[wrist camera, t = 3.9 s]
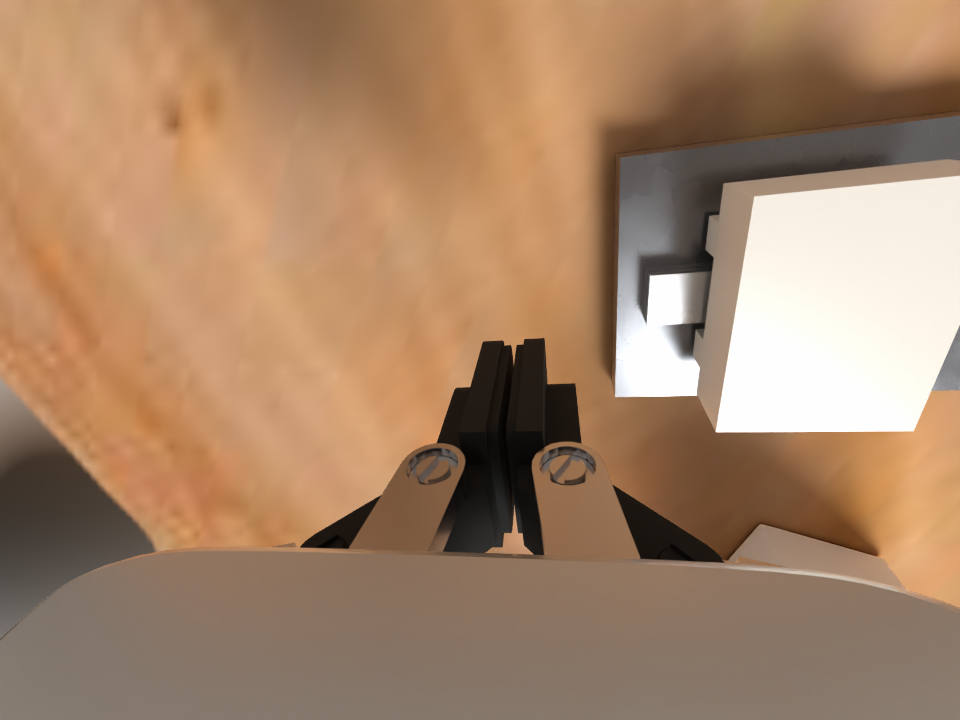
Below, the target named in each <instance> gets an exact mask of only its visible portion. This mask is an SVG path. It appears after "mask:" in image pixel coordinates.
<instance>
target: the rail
mask: <svg viewBox="0 0 960 720" xmlns="http://www.w3.org/2000/svg"><path fill="white" fill-rule="evenodd" d="M945 159H950V160H959V161H960V111H954V112H946V113H938V114H930V115H922V116H914V117H906V118H898V119H890V120H882V121H874V122H866V123H858V124H850V125H842V126H834V127H826V128H818V129H810V130H802V131H794V132H786V133H778V134H770V135H762V136H754V137H746V138H739V139H731V140H723V141H715V142H707V143H699V144H691V145H683V146H675V147H667V148H659V149H651V150H643V151H635V152H627V153H619V154H616V160H615V214H614V269H613V324H612V379H611V380H612V385H613V390H614V395H615V397H654V396H697V394H696V392H697V384H698V376H699V369H700V368H699V366H698V364H697V362H696V360H695V359H694V357H693V349H694V341H695V332H696V329H705V322H706V315H707V307H708V299H709V291H710V284H711V276H712V268H713V260H714V257H713V256H712V255H711V254H710V253H708V252H707V251H706V250H705V248H706V240H707V231H708V223H709V216H712V215H719V214H720V206H721V199H722V191H723V183H731V182H741V181H750V180H759V179H768V178H778V177H787V176H796V175H806V174H815V173H824V172H833V171H843V170H852V169H861V168H871V167H880V166H889V165H899V164H908V163H917V162H926V161H936V160H945ZM941 390H960V326H959V328H958V330H957V333H956V335H955V337H954V339H953V342H952V344H951V346H950V349H949V351H948V353H947V356H946V358H945V360H944V362H943V365H942V367H941V369H940V372H939V374H938V376H937V379H936V381H935V383H934V385H933V388H932V390H931V391H941Z"/></svg>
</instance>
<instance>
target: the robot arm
mask: <svg viewBox="0 0 960 720" xmlns="http://www.w3.org/2000/svg"><path fill="white" fill-rule="evenodd" d="M514 504H515V512H516V520H517V528H518V533H523V539H524V546H525V547H527V548H528V549H529V550H530V551H531V552H532V553H533V554H534V555H525V554H495V553H485V552H487V551H488V550H489V549H491V548H492V547H503V537H504V533H512V526H513V514H514ZM0 720H960V608H959V607H957V606H954V605H952V604H949V603H946V602H944V601H941V600H938V599H935V598H931V597H928V596H925V595H922V594H919V593H916V592H912V591H909V590H906V589H903V588H900V587H896V586H893V585H889V584H884V583H880V582H876V581H871V580H867V579H863V578H858V577H854V576H849V575H844V574H837V573H830V572H824V571H817V570H810V569H802V568H790V567H785V566H780V565H776V564H771V563H766V562H762V561H757V560H752V559H748V558H743V557H738V560H737V563H736V562H731V561H727V560H722V558H721V557H720V556H719V555H718V554H717V553H716V552H715V551H714V550H712V549H711V548H710V547H709V546H707V545H706V544H705V543H703V542H701V541H700V540H698V539H697V538H695V537H694V536H692V535H690V534H689V533H687V532H686V531H684V530H683V529H681V528H679V527H678V526H676V525H675V524H673V523H672V522H670V521H669V520H667V519H665V518H664V517H662V516H661V515H659V514H658V513H656V512H654V511H653V510H651V509H650V508H648V507H647V506H645V505H643V504H642V503H640V502H639V501H637V500H636V499H634V498H633V497H631V496H629V495H628V494H626V493H625V492H623V491H622V490H620V489H618V488H617V487H615V486H614V485H612V483H611V480H610V477H609V475H608V472H607V470H606V467H605V464H604V462H603V460H602V458H601V457H600V455H599V454H598V453H597V452H596V451H595V450H593V449H592V448H590V447H588V446H586V445H584V444H581V435H580V425H579V415H578V406H577V396H576V386H575V384H547V369H546V353H545V340H544V338H540V339H524V345H517V347H516V354H515V362H514V365H513V355H512V347H511V345H506V346H504V342H503V341H486V342H483V344H482V347H481V351H480V354H479V358H478V362H477V365H476V369H475V372H474V376H473V380H472V383H471V387H465V388H456V389H455V390H454V393H453V396H452V399H451V402H450V405H449V408H448V411H447V414H446V417H445V420H444V423H443V426H442V429H441V432H440V435H439V438H438V441H437V443H435V444H430V445H425V446H423V447H420V448H418V449H416V450H414V451H413V452H412V453H410V454H409V455H407V457H406V458H405V459H404V460H403V461H402V463H401V464H400V466H399V468H398V469H397V471H396V472H395V474H394V476H393V477H392V479H391V481H390V482H389V484H388V485H387V487H386V489H385V490H384V492H383V494H382V495H380V496H379V497H377V498H375V499H374V500H372V501H370V502H369V503H367V504H365V505H364V506H362V507H360V508H359V509H357V510H355V511H353V512H352V513H350V514H348V515H347V516H345V517H343V518H342V519H340V520H338V521H337V522H335V523H333V524H331V525H330V526H328V527H326V528H325V529H323V530H321V531H320V532H318V533H316V534H315V535H313V536H312V537H311V538H309V539H308V540H307V541H305V542H304V543H303V544H302V545H301V547H300V548H297V546H296V544H295V543H290V544H285V545H279V546H274V547H197V548H185V549H175V550H166V551H160V552H155V553H150V554H145V555H140V556H136V557H132V558H129V559H126V560H123V561H119V562H116V563H113V564H109V565H106V566H103V567H101V568H98V569H96V570H93V571H91V572H89V573H86V574H84V575H82V576H80V577H78V578H76V579H74V580H72V581H70V582H68V583H67V584H65V585H64V586H62V587H61V588H59V589H58V590H57V591H55V592H54V593H53V594H51V595H50V596H48V597H47V598H46V599H45V600H43V601H42V602H41V603H40V604H39V605H38V606H36V607H35V608H34V609H33V610H32V611H30V612H29V613H28V614H27V615H26V616H25V617H23V618H22V619H21V620H20V621H19V622H17V623H16V624H15V625H14V626H13V627H12V628H11V629H10V630H9V631H8V632H7V633H5V634H4V635H3V636H2V637H1V638H0Z"/></svg>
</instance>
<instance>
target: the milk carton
mask: <svg viewBox="0 0 960 720" xmlns="http://www.w3.org/2000/svg"><path fill="white" fill-rule="evenodd" d="M738 557H743V558H748V559H752V560H757V561H762V562H766V563H771V564H776V565H780V566H785V567H790V568H802V569H810V570H817V571H824V572H830V573H837V574H844V575H849V576H854V577H858V578H863V579H867V580H871V581H876V582H880V583H884V584H889V585H893V586H896V587H900V588H903V589H905V588H904V586H903V585H902V583H901V582H900V581H899V579H898V578H897V577H896V575H895V574H894V573H893V571H892V570H891V568H890V567H889V566H888V564H887V563H886V562H885V561H884V560H883V559H882V558H879V557H876V556H873V555H869V554H866V553H863V552H859V551H855V550H852V549H848V548H845V547H841V546H838V545H834V544H831V543H827V542H824V541H820V540H817V539H813V538H810V537H806V536H803V535H799V534H796V533H792V532H789V531H785V530H782V529H778V528H775V527H771V526H767V525H763V524H760V525H759V526H758V527H757V528H756V529H755V530H754V531H753V532H752V533H751V535H750V536H749V537H748V538H747V539H746V540H745V541H744V543H743V544H742V545H741V546H740V547H739V548H738V549H737V550H736V552H735V553H734V554H733V555H732V556H731V557H730V558H729V560H728V561H731V562H736V563H737V560H738Z"/></svg>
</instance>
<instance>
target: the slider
mask: <svg viewBox="0 0 960 720" xmlns="http://www.w3.org/2000/svg"><path fill="white" fill-rule="evenodd" d="M705 250H706V251H707V252H708V253H710V254H711V255H712V256H713V257H714V260H713V268H712V276H711V284H710V291H709V299H708V307H707V315H706V322H705V329H696V332H695V341H694V349H693V357H694V359H695V360H696V362H697V364H698V366H699V368H700V369H699V376H698V384H697V392H696V394H697V396H698V398H699V400H700V402H701V404H702V406H703V408H704V410H705V412H706V414H707V416H708V418H709V420H710V422H711V424H712V426H713V428H714V430H715V432H861V431H914V429H915V427H916V424H917V422H918V420H919V418H920V415H921V413H922V411H923V408H924V406H925V404H926V401H927V399H928V397H929V395H930V392H931V390H932V388H933V385H934V383H935V381H936V379H937V376H938V374H939V372H940V369H941V367H942V365H943V362H944V360H945V358H946V356H947V353H948V351H949V349H950V346H951V344H952V342H953V339H954V337H955V335H956V333H957V330H958V328H959V326H960V161H959V160H950V159H945V160H936V161H926V162H917V163H908V164H899V165H889V166H880V167H871V168H861V169H852V170H843V171H833V172H824V173H815V174H806V175H796V176H787V177H778V178H768V179H759V180H750V181H741V182H731V183H723V191H722V199H721V206H720V214H719V215H712V216H709V223H708V231H707V240H706V248H705Z"/></svg>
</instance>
